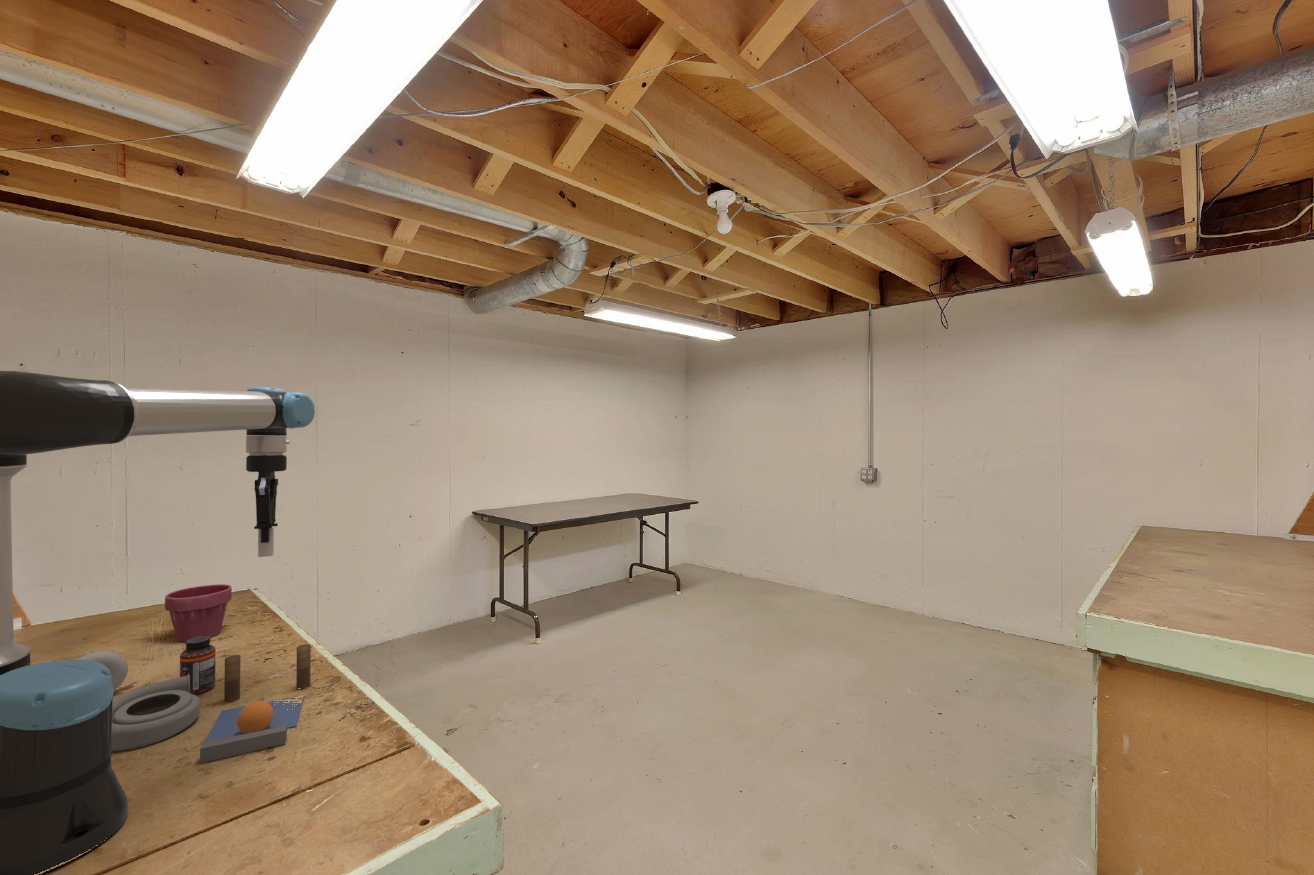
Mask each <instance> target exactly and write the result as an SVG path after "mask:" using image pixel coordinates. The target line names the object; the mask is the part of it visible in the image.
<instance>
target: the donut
mask: <svg viewBox="0 0 1314 875" xmlns="http://www.w3.org/2000/svg"><path fill="white" fill-rule="evenodd" d="M78 659H84V660H92V661H96V662H99V663H101V664H103V665H105V666H106V667H107V668H108V669H109V671H110V673H111V680H112V686H113V689H114V691H116V690H117V689H118V688H119V687H120V686H121V685H122V684H123V682H124V681H125V679H126V678H127V675H128V672H129V666H128V662H127V660H126V658H125V657H124V656H123V655H121V654H119V653H117V652H113V651H108V650H107V651H105V650H104V651H94V652H92V653H91V652H90V653H88V654H87V653H86V654H85V655H82V656H80V657H79V658H78Z"/></svg>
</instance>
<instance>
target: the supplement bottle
mask: <svg viewBox="0 0 1314 875" xmlns="http://www.w3.org/2000/svg"><path fill="white" fill-rule="evenodd" d="M210 643H211V637H209V636H200V637H195V638H192V639H189V640H187V641H186V642H185V649H184V650H183V651H182V652H181V653H180V655H179V677H184V676H187V675H188V674H189V675H190V694H193V695H196V696H197V695H199V694H203V693H205V692H208V691H210V690H212V689H213V688H214V687H215V686H216V664H217V663H216V657H217V656H216V655H217V654H216V653H217V652H216V647H215V645H212V644H210Z"/></svg>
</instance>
